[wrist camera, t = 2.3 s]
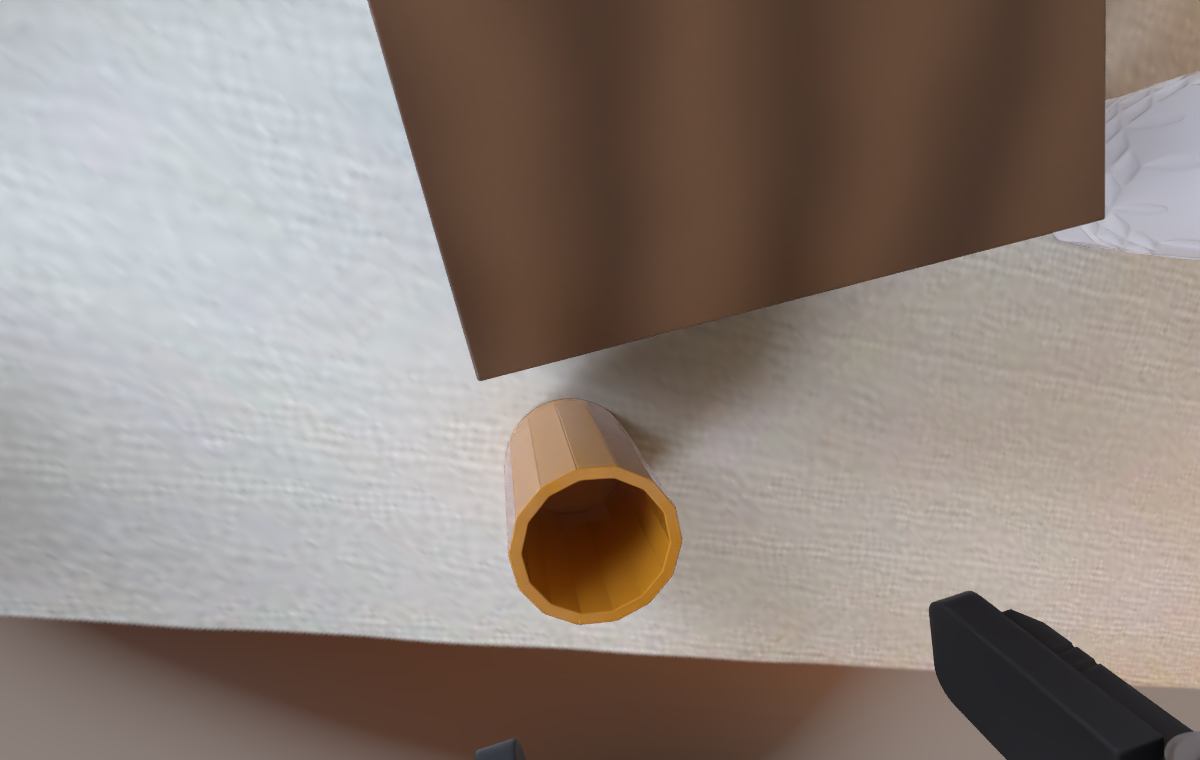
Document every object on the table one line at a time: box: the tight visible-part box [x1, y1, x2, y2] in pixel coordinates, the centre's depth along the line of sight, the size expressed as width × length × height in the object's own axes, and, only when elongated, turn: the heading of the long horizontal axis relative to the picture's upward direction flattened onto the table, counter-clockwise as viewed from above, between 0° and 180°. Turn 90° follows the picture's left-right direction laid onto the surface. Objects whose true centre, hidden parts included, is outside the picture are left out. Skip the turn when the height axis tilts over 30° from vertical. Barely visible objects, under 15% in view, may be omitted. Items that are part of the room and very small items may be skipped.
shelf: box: [367, 0, 1105, 381], centre depth 21 cm, size 18×11×12 cm, turn 103°
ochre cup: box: [504, 399, 682, 625], centre depth 25 cm, size 6×6×8 cm
